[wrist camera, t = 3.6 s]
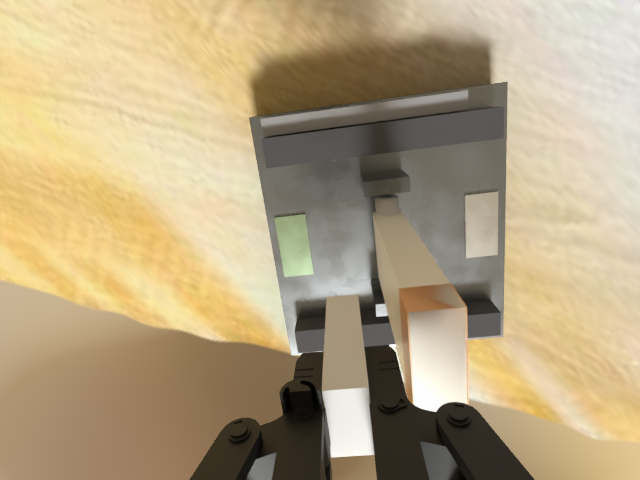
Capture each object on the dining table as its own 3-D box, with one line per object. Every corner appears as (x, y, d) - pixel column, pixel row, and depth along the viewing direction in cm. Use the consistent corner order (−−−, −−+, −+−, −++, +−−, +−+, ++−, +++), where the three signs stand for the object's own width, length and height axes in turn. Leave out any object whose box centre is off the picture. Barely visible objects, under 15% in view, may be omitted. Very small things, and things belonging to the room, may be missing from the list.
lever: (370, 196, 28) (405, 284, 13) (399, 192, 27) (466, 278, 13) (378, 288, 30) (415, 446, 16) (406, 285, 30) (469, 442, 16)
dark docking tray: (263, 118, 28) (257, 119, 26) (492, 87, 27) (504, 85, 25) (300, 339, 33) (298, 353, 31) (490, 322, 32) (500, 335, 30)
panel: (257, 117, 31) (237, 118, 24) (490, 84, 29) (532, 77, 23) (294, 336, 37) (286, 381, 31) (489, 318, 35) (521, 362, 29)
